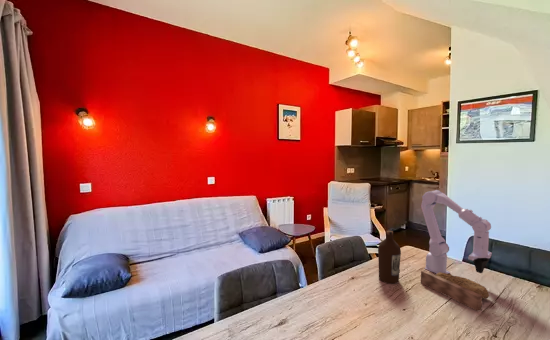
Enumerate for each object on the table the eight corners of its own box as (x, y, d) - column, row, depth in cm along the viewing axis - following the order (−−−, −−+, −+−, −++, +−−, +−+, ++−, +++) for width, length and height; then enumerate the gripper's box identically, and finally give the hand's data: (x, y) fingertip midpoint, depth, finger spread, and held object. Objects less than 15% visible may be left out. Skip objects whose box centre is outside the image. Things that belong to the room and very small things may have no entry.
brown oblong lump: (431, 287, 130) (471, 300, 111) (431, 270, 132) (470, 280, 113) (452, 288, 134) (494, 301, 115) (452, 272, 135) (494, 282, 116)
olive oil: (373, 278, 137) (374, 230, 136) (385, 272, 143) (386, 227, 141) (392, 286, 128) (393, 235, 127) (404, 280, 134) (405, 232, 133)
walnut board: (420, 282, 132) (421, 271, 132) (424, 281, 133) (424, 270, 133) (477, 311, 108) (478, 297, 108) (481, 309, 109) (482, 295, 109)
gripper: (480, 249, 122) (479, 278, 123) (499, 245, 127) (497, 273, 128) (464, 244, 128) (463, 272, 129) (483, 241, 134) (481, 267, 135)
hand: (479, 272), depth 129 cm, fingers closed
